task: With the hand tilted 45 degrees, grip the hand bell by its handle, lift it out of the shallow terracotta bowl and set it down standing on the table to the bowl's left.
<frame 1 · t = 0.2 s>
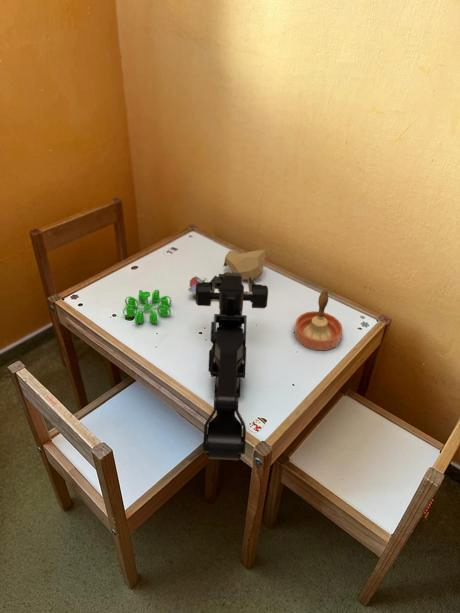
hand: (232, 277, 129), 17 cm above the table, tool horizontal, fingers open, 9 cm apart
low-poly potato: (243, 275, 160), on the table
bowl: (317, 335, 137), on the table
geometric puzzle: (199, 296, 150), on the table
chandelier: (148, 312, 143), on the table
hand bell: (317, 335, 137), resting on bowl
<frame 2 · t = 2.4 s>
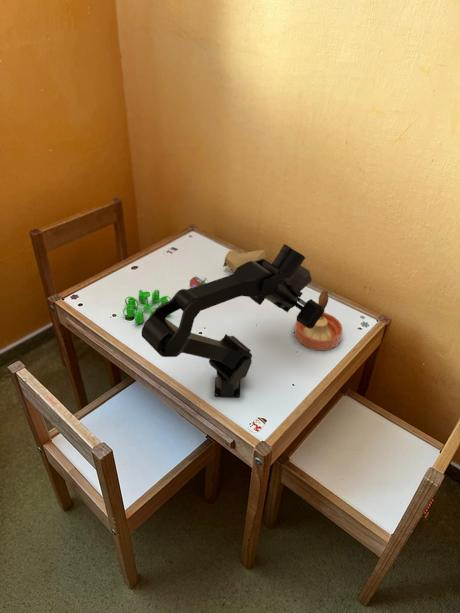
hand: (302, 308, 124), 14 cm above the table, tool tilted 45°, fingers open, 9 cm apart
nothing on the table moved.
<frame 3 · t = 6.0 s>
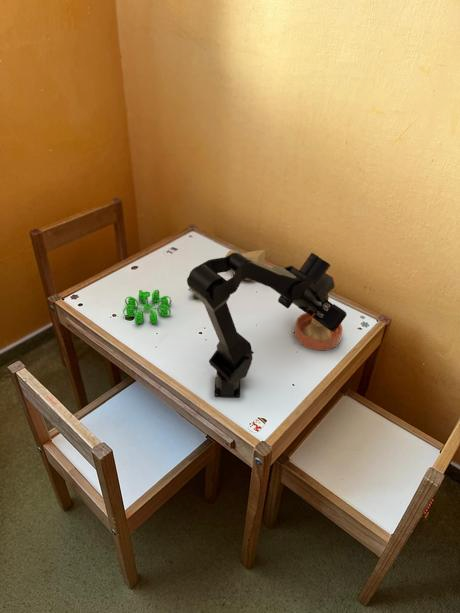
hand: (324, 312, 133), 8 cm above the table, tool tilted 45°, fingers closed on hand bell
hand bell: (317, 334, 137), resting on bowl, touching gripper
everything else where it was.
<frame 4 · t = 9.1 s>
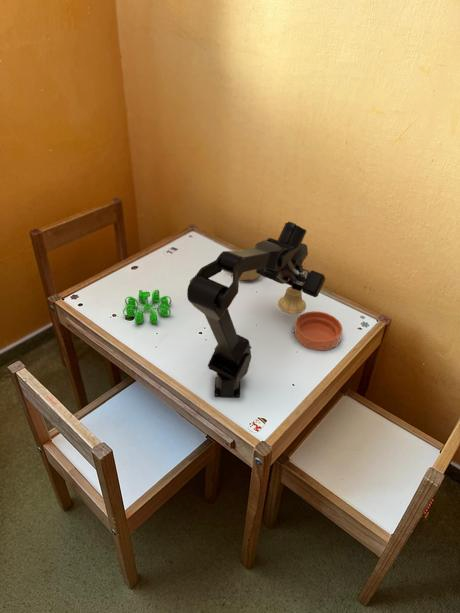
hand: (297, 282, 134), 13 cm above the table, tool tilted 45°, fingers closed on hand bell
hand bell: (291, 305, 138), point 6 cm above the table, touching gripper
everything else where it was.
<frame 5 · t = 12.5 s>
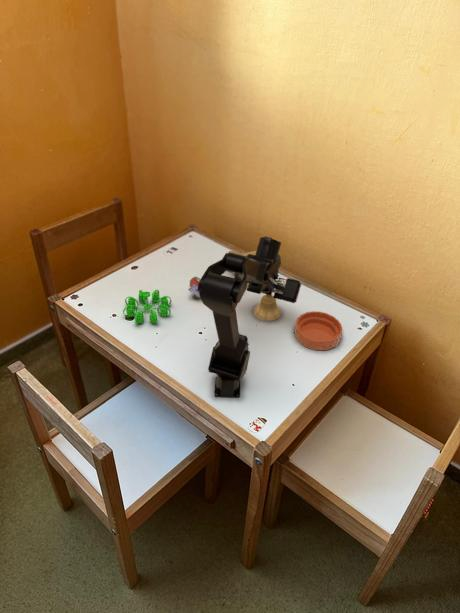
hand: (270, 289, 141), 8 cm above the table, tool tilted 45°, fingers open, 4 cm apart
hand bell: (267, 313, 144), on the table
everything else where it was.
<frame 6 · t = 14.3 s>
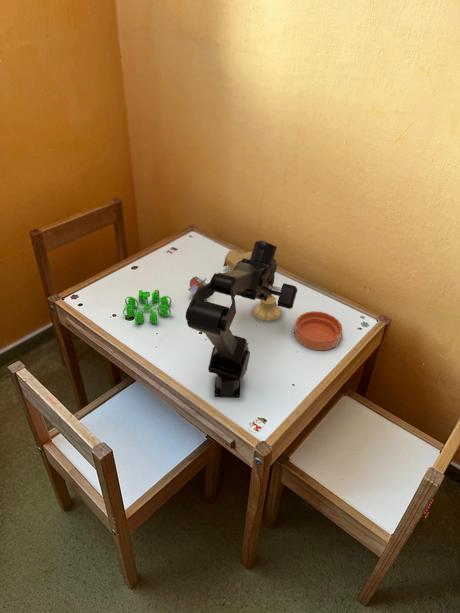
hand: (266, 295, 137), 9 cm above the table, tool tilted 45°, fingers open, 9 cm apart
nothing on the table moved.
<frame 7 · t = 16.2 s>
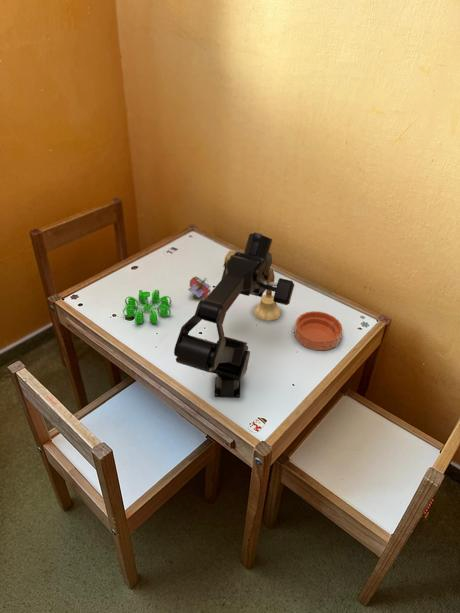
hand: (262, 291, 130), 14 cm above the table, tool tilted 45°, fingers open, 9 cm apart
nothing on the table moved.
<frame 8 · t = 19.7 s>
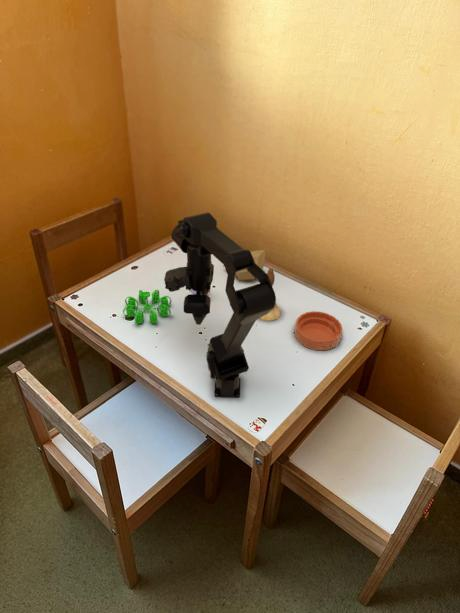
hand: (199, 312, 123), 13 cm above the table, tool pointing down, fingers open, 9 cm apart
nothing on the table moved.
at the end: hand bell inside the target area (0.5 cm from its centre), on the table; hand bell tilted 0°; the gripper is holding nothing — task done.
